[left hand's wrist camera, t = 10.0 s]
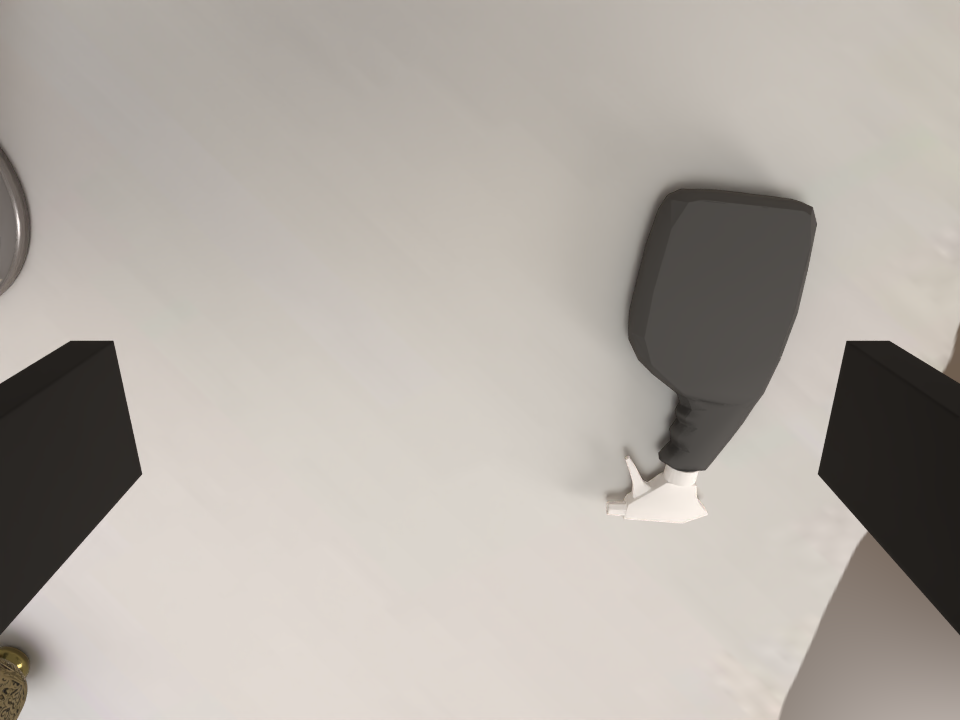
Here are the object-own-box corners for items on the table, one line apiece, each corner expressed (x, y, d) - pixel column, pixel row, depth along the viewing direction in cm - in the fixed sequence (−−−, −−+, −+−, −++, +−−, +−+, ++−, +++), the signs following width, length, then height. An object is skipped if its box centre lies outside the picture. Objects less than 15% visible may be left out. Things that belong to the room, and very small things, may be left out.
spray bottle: (817, 200, 43) (721, 514, 53) (651, 180, 43) (584, 501, 52) (839, 208, 41) (734, 538, 50) (663, 187, 40) (590, 524, 50)
